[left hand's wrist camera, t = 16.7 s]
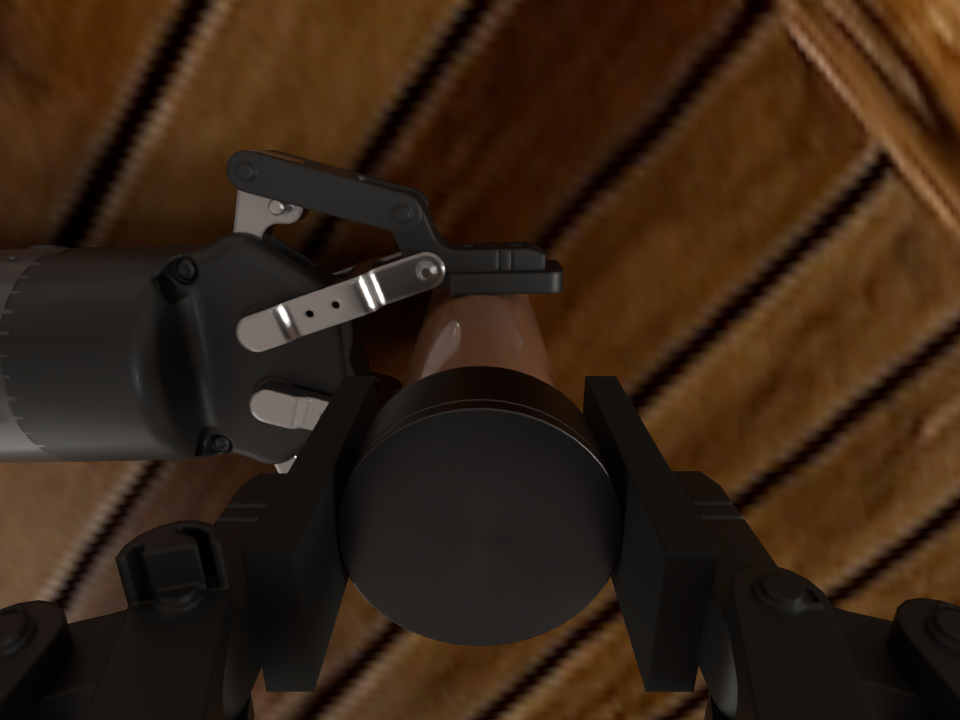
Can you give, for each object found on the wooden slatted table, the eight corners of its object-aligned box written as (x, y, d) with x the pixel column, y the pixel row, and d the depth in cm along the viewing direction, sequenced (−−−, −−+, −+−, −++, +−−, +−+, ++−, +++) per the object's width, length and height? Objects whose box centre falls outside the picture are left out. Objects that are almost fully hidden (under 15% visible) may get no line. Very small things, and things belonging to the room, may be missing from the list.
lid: (417, 602, 13) (406, 675, 12) (314, 416, 12) (284, 467, 10) (631, 535, 13) (656, 601, 11) (556, 327, 11) (572, 364, 9)
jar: (499, 236, 25) (527, 370, 10) (544, 320, 26) (630, 549, 11) (413, 284, 26) (320, 477, 11) (461, 363, 27) (440, 632, 12)
